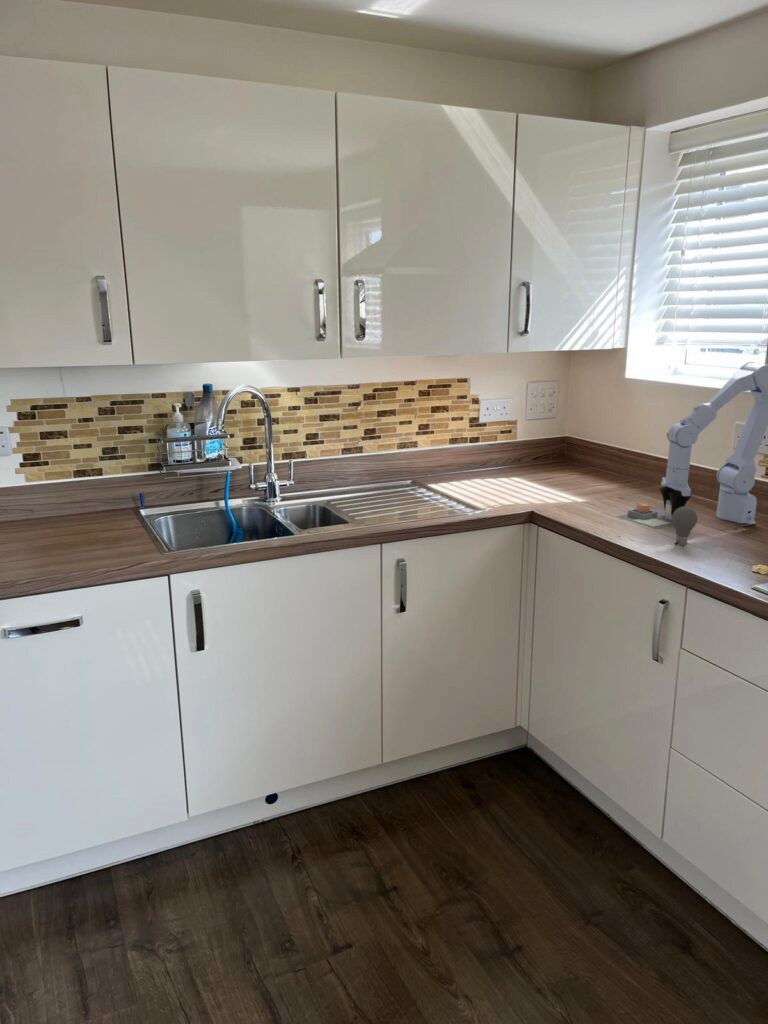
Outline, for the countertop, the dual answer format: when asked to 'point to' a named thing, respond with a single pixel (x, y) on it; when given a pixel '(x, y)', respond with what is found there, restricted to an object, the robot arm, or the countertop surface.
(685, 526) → the light bulb
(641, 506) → the orange round piece
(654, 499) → the countertop surface
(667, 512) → the cartridge
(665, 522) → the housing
